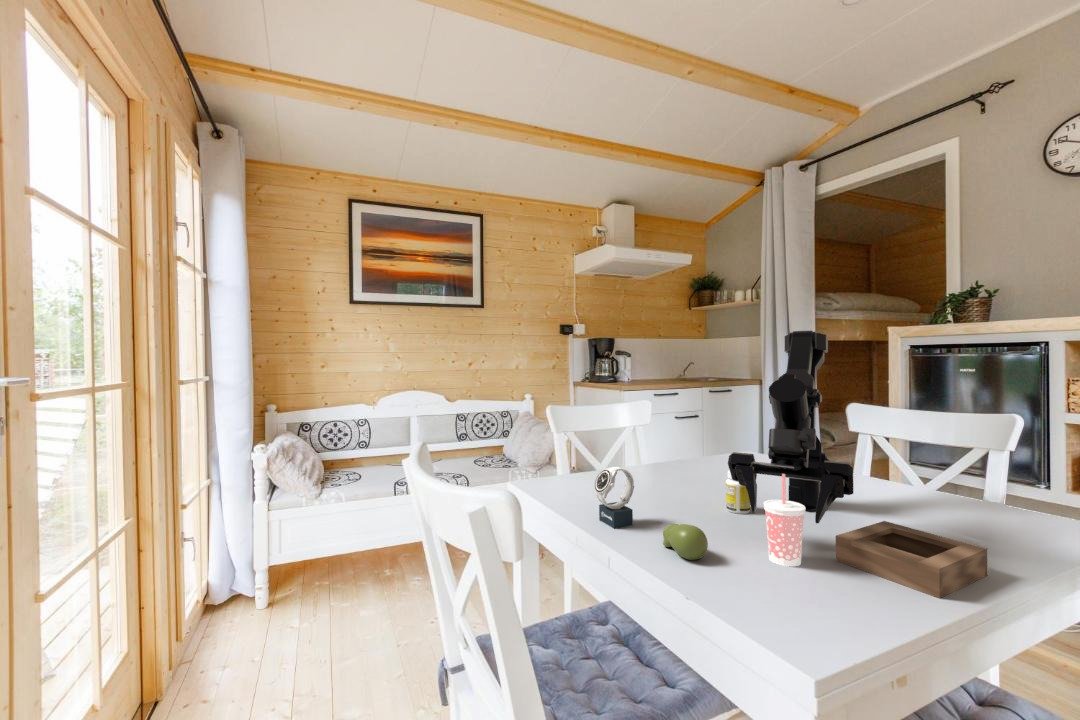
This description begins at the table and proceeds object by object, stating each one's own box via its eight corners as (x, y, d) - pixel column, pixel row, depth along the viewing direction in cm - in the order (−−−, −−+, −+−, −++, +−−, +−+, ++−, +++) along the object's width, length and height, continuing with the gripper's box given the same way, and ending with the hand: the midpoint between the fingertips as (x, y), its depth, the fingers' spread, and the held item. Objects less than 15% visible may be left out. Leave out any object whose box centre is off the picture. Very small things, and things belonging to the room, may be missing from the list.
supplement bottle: (750, 508, 104) (750, 470, 104) (750, 515, 100) (749, 475, 100) (727, 506, 106) (726, 468, 106) (725, 512, 102) (724, 473, 102)
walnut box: (884, 543, 84) (884, 520, 84) (987, 575, 72) (987, 548, 72) (835, 560, 78) (835, 535, 78) (939, 598, 65) (939, 568, 65)
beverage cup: (765, 550, 82) (764, 468, 82) (806, 557, 79) (805, 471, 79) (762, 563, 77) (760, 476, 77) (805, 571, 74) (804, 480, 74)
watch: (590, 521, 98) (590, 467, 98) (624, 515, 101) (623, 463, 101) (605, 530, 93) (604, 473, 93) (640, 524, 96) (639, 468, 96)
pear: (681, 530, 77) (653, 520, 87) (685, 565, 76) (656, 551, 86) (712, 526, 78) (681, 517, 88) (716, 561, 78) (684, 548, 87)
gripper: (729, 407, 87) (714, 482, 78) (852, 412, 77) (852, 499, 68) (739, 444, 94) (726, 517, 85) (853, 453, 84) (853, 537, 75)
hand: (784, 517), depth 78 cm, fingers open, 9 cm apart
